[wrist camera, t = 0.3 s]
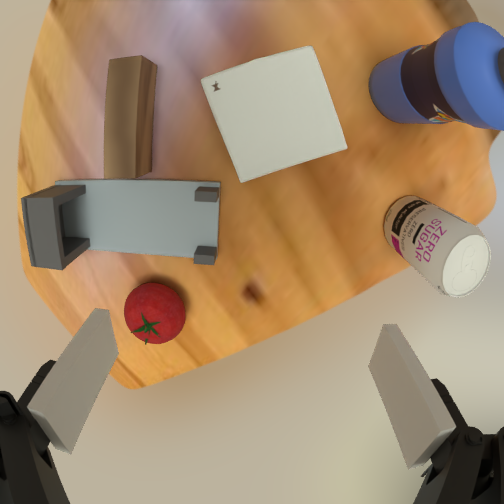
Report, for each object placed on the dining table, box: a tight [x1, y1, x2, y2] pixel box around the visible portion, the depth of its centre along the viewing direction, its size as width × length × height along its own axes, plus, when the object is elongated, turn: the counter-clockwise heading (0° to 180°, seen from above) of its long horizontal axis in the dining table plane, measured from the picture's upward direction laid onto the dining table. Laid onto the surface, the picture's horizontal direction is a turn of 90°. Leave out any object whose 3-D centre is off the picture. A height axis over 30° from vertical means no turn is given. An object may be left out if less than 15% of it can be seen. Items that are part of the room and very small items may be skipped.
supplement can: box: [384, 196, 491, 298], centre depth 32 cm, size 8×8×15 cm
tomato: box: [124, 283, 186, 345], centre depth 40 cm, size 9×9×8 cm
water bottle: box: [369, 22, 504, 131], centre depth 20 cm, size 9×9×25 cm
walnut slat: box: [104, 55, 157, 179], centre depth 31 cm, size 4×14×6 cm, turn 176°
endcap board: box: [21, 179, 221, 270], centre depth 34 cm, size 10×24×9 cm, turn 86°
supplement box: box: [201, 46, 347, 183], centre depth 27 cm, size 9×9×15 cm
